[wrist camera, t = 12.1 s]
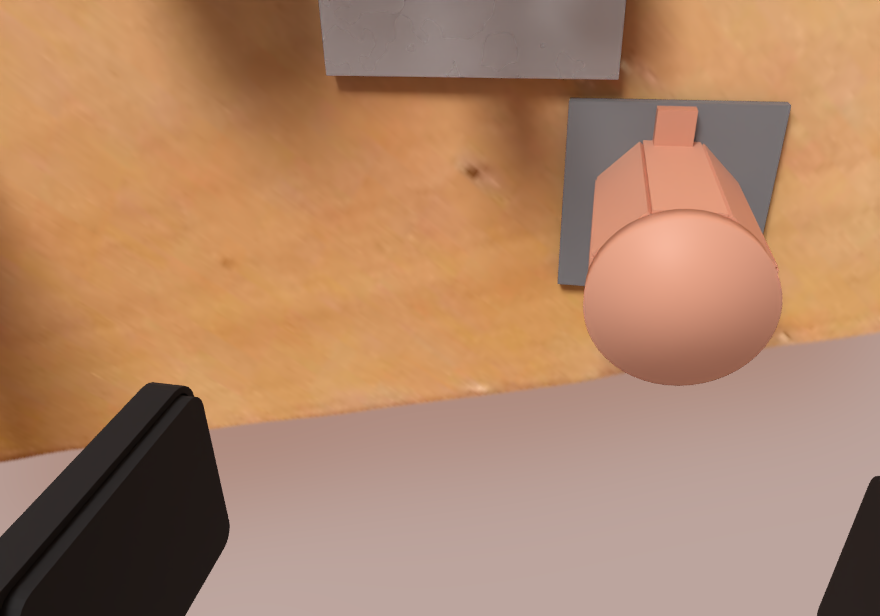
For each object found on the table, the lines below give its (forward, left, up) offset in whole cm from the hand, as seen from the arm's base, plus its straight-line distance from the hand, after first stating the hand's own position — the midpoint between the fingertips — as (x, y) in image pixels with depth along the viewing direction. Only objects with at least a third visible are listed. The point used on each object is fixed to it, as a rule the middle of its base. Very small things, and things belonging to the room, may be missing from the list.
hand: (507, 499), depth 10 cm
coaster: (+4, -4, -24) cm, 25 cm away
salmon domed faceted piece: (+4, -4, -24) cm, 25 cm away
